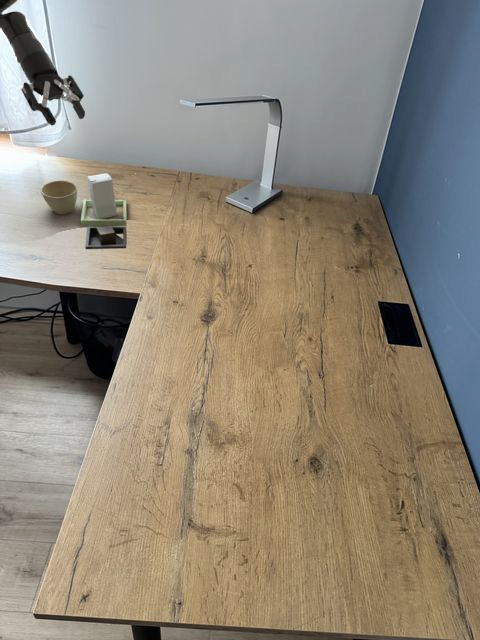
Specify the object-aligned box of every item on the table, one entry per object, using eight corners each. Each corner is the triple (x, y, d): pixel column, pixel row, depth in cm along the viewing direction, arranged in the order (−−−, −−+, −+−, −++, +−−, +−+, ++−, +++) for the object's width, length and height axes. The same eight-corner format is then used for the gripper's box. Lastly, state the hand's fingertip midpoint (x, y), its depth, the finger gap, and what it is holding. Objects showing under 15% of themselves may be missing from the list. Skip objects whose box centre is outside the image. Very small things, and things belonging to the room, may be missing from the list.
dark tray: (86, 255, 136) (85, 246, 134) (88, 234, 143) (87, 226, 142) (126, 254, 138) (126, 246, 136) (126, 234, 146) (126, 226, 144)
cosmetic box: (112, 209, 153) (108, 172, 145) (117, 216, 151) (113, 179, 142) (92, 213, 151) (86, 175, 142) (97, 220, 148) (91, 182, 140)
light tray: (81, 228, 145) (80, 220, 144) (84, 207, 154) (83, 199, 152) (126, 228, 148) (126, 220, 146) (126, 207, 157) (126, 200, 155)
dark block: (101, 247, 138) (99, 234, 136) (98, 239, 141) (96, 227, 138) (116, 245, 140) (114, 232, 137) (112, 237, 142) (111, 225, 140)
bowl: (41, 217, 148) (35, 195, 143) (52, 200, 155) (47, 178, 150) (75, 220, 148) (70, 198, 143) (85, 203, 155) (81, 181, 150)
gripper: (10, 53, 119) (48, 118, 122) (63, 46, 127) (97, 107, 131) (3, 71, 124) (39, 133, 127) (54, 64, 133) (86, 122, 136)
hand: (68, 120), depth 129 cm, fingers open, 8 cm apart
